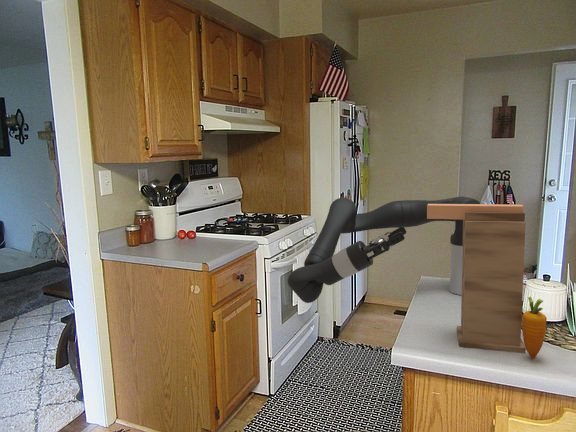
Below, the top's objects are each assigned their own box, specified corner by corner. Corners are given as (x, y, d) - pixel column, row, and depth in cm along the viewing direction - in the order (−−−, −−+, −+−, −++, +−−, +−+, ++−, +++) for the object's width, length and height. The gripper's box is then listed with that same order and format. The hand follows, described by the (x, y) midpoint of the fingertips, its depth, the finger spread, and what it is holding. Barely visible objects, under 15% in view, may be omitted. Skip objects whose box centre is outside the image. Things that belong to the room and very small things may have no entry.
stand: (456, 329, 119) (459, 208, 114) (517, 334, 114) (522, 208, 109) (459, 346, 109) (461, 214, 104) (525, 353, 104) (531, 214, 99)
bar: (428, 216, 114) (428, 203, 114) (521, 218, 106) (521, 204, 105) (426, 218, 111) (427, 205, 111) (522, 220, 103) (523, 206, 102)
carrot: (519, 352, 104) (521, 293, 102) (542, 355, 103) (545, 294, 100) (522, 361, 100) (524, 299, 98) (546, 364, 98) (549, 301, 96)
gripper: (340, 254, 113) (394, 224, 108) (349, 242, 127) (398, 216, 121) (355, 278, 113) (410, 250, 107) (363, 264, 126) (412, 238, 121)
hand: (404, 232), depth 114 cm, fingers open, 8 cm apart
